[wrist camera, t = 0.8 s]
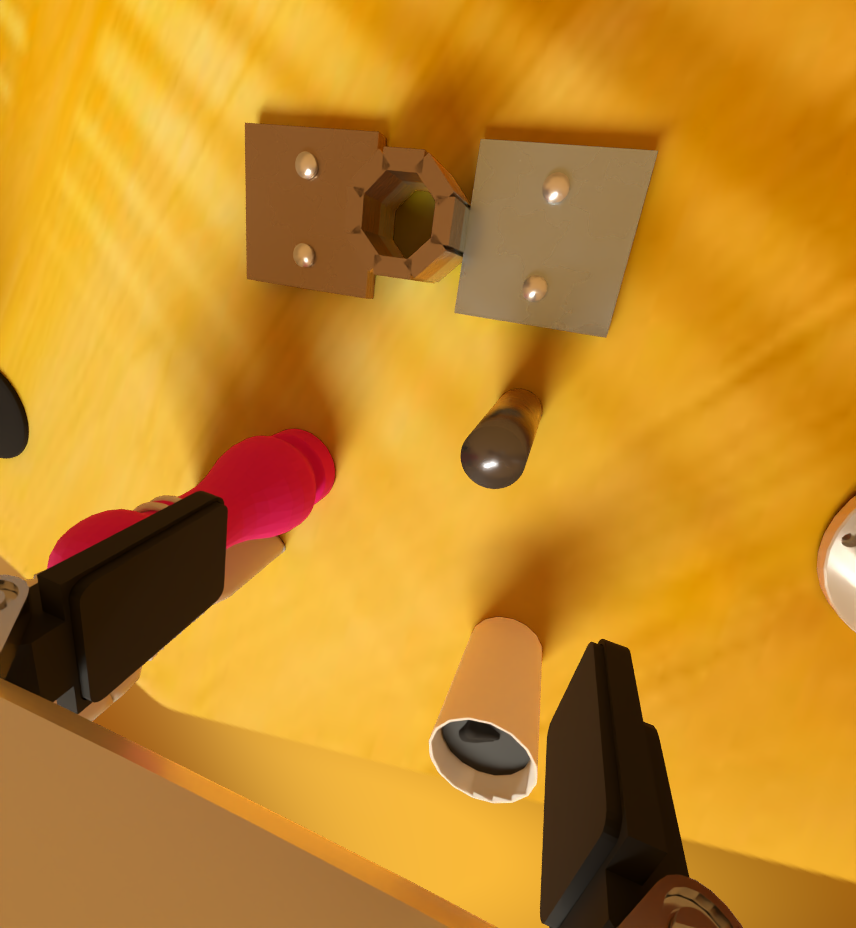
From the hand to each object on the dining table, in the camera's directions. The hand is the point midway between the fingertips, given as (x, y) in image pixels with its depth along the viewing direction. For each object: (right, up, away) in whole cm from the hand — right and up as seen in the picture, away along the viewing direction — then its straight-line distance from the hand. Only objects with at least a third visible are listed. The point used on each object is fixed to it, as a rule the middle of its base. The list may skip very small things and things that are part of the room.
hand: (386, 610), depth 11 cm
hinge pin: (+7, +7, +19) cm, 21 cm away
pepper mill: (-9, +3, +26) cm, 27 cm away
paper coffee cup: (+7, -11, +25) cm, 29 cm away
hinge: (+1, +18, +17) cm, 25 cm away
